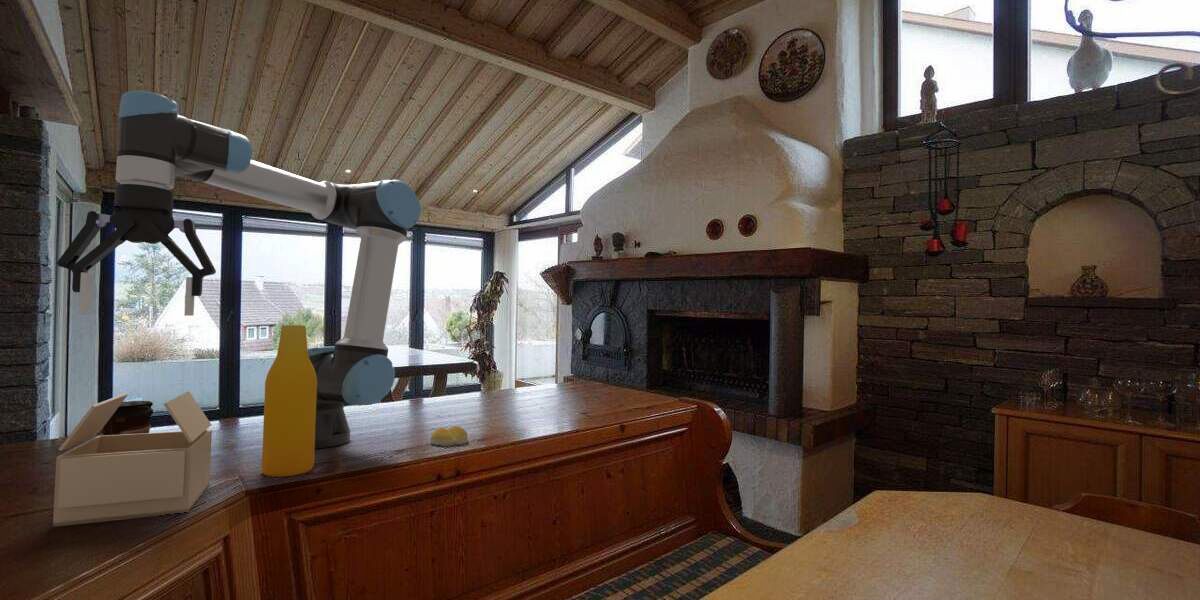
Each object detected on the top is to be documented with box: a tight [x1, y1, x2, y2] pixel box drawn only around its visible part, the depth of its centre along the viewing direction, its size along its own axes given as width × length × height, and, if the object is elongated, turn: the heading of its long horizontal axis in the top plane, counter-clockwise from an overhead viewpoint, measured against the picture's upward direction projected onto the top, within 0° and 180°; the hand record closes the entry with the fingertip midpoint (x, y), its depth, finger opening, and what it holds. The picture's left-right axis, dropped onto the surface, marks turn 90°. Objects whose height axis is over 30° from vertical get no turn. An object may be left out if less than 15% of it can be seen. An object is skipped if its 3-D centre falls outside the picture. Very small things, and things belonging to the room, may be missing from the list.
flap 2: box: [163, 390, 212, 442], centre depth 93 cm, size 7×14×1 cm
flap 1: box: [58, 392, 129, 451], centre depth 88 cm, size 7×14×1 cm
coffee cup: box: [100, 400, 154, 436], centre depth 109 cm, size 9×8×13 cm
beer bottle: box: [261, 324, 317, 478], centre depth 110 cm, size 9×9×29 cm
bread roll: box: [429, 426, 469, 447], centre depth 137 cm, size 8×9×4 cm
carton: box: [52, 429, 213, 528], centre depth 90 cm, size 16×16×10 cm
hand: (138, 314), depth 91 cm, fingers open, 13 cm apart
